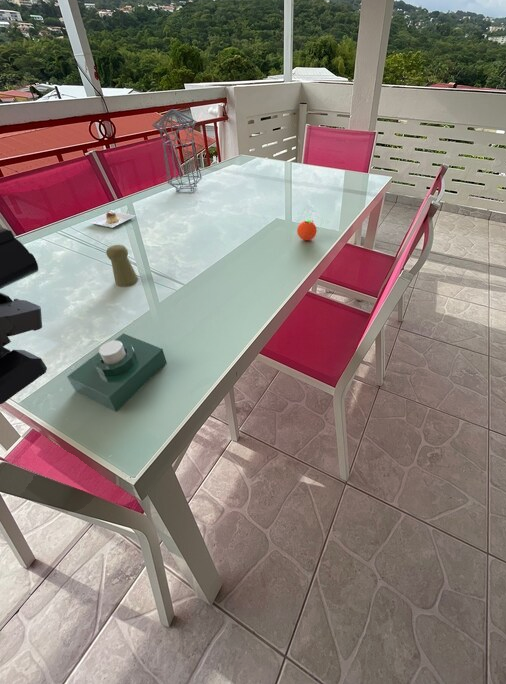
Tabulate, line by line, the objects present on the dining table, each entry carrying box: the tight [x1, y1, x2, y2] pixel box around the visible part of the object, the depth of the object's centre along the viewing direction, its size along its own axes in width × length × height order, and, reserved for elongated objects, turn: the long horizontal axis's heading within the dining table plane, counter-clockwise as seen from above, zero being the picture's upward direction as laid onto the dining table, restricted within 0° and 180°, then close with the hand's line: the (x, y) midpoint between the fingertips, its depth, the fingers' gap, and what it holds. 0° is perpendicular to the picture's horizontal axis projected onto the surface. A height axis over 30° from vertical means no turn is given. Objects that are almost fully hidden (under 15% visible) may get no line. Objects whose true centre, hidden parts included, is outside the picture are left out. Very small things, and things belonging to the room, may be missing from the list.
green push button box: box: [66, 332, 168, 413], centre depth 65 cm, size 13×11×6 cm
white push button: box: [98, 339, 126, 365], centre depth 63 cm, size 4×4×2 cm
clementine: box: [296, 219, 318, 241], centre depth 117 cm, size 8×7×7 cm
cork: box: [105, 244, 139, 288], centre depth 92 cm, size 6×6×11 cm
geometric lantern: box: [151, 108, 203, 194], centre depth 151 cm, size 16×16×35 cm
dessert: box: [87, 209, 136, 229], centre depth 128 cm, size 12×12×5 cm
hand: (7, 397), depth 47 cm, fingers closed
